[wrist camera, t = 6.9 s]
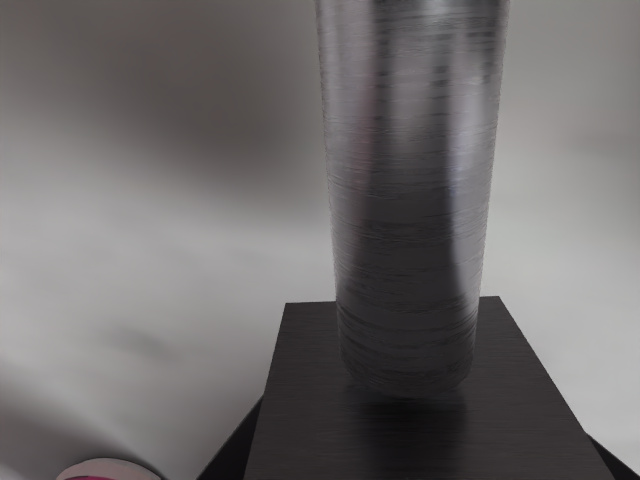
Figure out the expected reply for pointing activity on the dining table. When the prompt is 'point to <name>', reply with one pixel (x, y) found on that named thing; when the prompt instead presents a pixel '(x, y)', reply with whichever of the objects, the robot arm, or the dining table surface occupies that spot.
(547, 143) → the dining table surface
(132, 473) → the beverage can
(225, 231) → the dining table surface
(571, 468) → the shaft
